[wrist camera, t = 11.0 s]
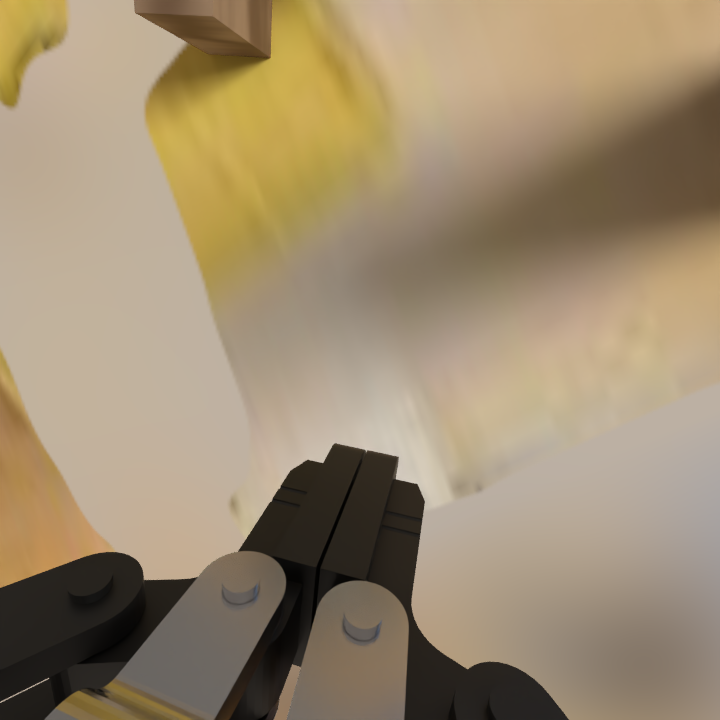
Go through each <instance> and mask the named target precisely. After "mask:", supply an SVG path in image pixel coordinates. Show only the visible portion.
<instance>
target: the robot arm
mask: <svg viewBox="0 0 720 720" xmlns="http://www.w3.org/2000/svg"><path fill="white" fill-rule="evenodd" d="M398 459H399V457H396V456H392V455H387V454H382V453H378V452H373V451H369V450H368V451H367V452H366V450H363V449H359V448H354V447H349V446H345V445H340V444H334V445H333V446H332V448H331V450H330V452H329V454H328V455H327V457H326V459H325V461H324V463H319V462H315V461H310V460H307V461H305V462H303V463H302V464H300V465H299V466H297V467H296V468H294V469H293V470H291V471H290V472H289V474H288V476H287V477H286V479H285V480H284V482H283V483H282V485H281V488H280V489H278V491H277V492H276V494H275V496H274V497H273V500H272V502H270V503H269V505H268V506H267V508H266V509H265V511H264V512H263V514H262V516H261V517H260V519H259V520H258V522H257V523H256V525H255V526H254V528H253V529H252V531H251V532H250V534H249V536H248V537H247V539H246V540H245V542H244V543H243V545H242V546H241V548H240V549H239V551H238V552H234V553H231V554H227V555H225V556H223V557H220V558H218V559H217V560H216V561H213V562H212V563H211V564H210V565H208V566H207V567H206V568H205V569H204V570H203V572H202V573H201V574H200V575H199V577H196V578H191V579H179V580H144V576H143V570H142V567H141V566H140V564H139V562H138V561H137V560H136V559H134V558H133V557H131V556H129V555H126V554H123V553H117V552H105V553H98V554H93V555H89V556H86V557H83V558H80V559H78V560H75V561H72V562H69V563H67V564H64V565H61V566H59V567H56V568H53V569H51V570H48V571H45V572H42V573H40V574H37V575H34V576H32V577H29V578H26V579H23V580H21V581H18V582H15V583H13V584H10V585H7V586H5V587H2V588H0V701H2V700H4V699H6V698H8V697H10V696H12V695H15V694H16V693H18V692H21V691H23V690H25V689H27V688H29V687H31V686H33V685H35V684H37V683H39V682H41V681H43V680H45V679H47V678H49V679H48V680H46V681H44V682H42V683H40V684H38V685H36V686H34V687H32V688H30V689H28V690H26V691H24V692H22V693H20V694H18V695H16V696H14V697H12V698H10V699H8V700H6V701H4V702H2V703H0V720H274V717H275V715H276V712H277V710H278V705H279V697H280V695H281V693H282V690H283V687H284V684H285V682H286V679H287V676H288V674H289V671H290V668H291V666H292V664H293V665H297V666H300V667H301V670H300V673H299V677H298V681H297V684H296V687H295V691H294V695H293V698H292V702H291V706H290V709H289V713H288V717H287V720H569V719H568V718H567V717H566V716H565V714H564V713H563V712H562V710H561V709H560V708H559V707H558V705H557V704H556V703H555V701H554V700H553V699H552V698H551V696H550V695H549V694H548V693H547V692H546V690H544V688H543V687H542V686H541V685H540V684H538V682H536V681H535V680H534V679H533V678H532V677H530V676H529V675H527V674H526V673H525V672H523V671H521V670H519V669H517V668H515V667H513V666H510V665H507V664H503V663H499V662H484V663H479V664H476V665H474V666H472V667H471V668H469V669H466V668H464V667H463V666H461V665H460V664H458V663H456V662H455V661H453V660H452V659H450V658H449V657H447V656H446V655H444V654H443V653H441V652H440V651H439V650H437V649H436V648H435V647H434V646H433V645H432V644H431V643H429V641H428V640H427V639H426V638H425V637H424V636H423V634H422V633H421V631H420V630H419V628H418V626H417V624H416V622H415V620H414V617H413V613H412V607H411V598H412V590H413V583H414V576H415V568H416V561H417V554H418V547H419V540H420V533H421V525H422V518H423V511H424V504H425V501H424V498H423V496H422V494H421V491H420V489H419V487H418V485H417V484H414V483H409V482H405V481H400V480H396V473H397V467H398Z"/></svg>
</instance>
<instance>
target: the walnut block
mask: <svg viewBox="0 0 720 720" xmlns="http://www.w3.org/2000/svg"><path fill="white" fill-rule="evenodd" d="M134 5H135V13H136V14H138V15H140V16H142V17H144V18H145V19H147V20H149V21H151V22H152V23H155V24H156V25H158V26H159V27H161V28H163V29H165V30H167V31H169V32H170V33H172V34H174V35H176V36H177V37H179V38H181V39H183V40H184V41H186V42H188V43H190V44H191V45H193V46H195V47H197V48H198V49H200V50H202V51H204V52H205V53H207V54H216V55H231V56H247V57H263V58H271V21H272V0H134Z"/></svg>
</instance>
